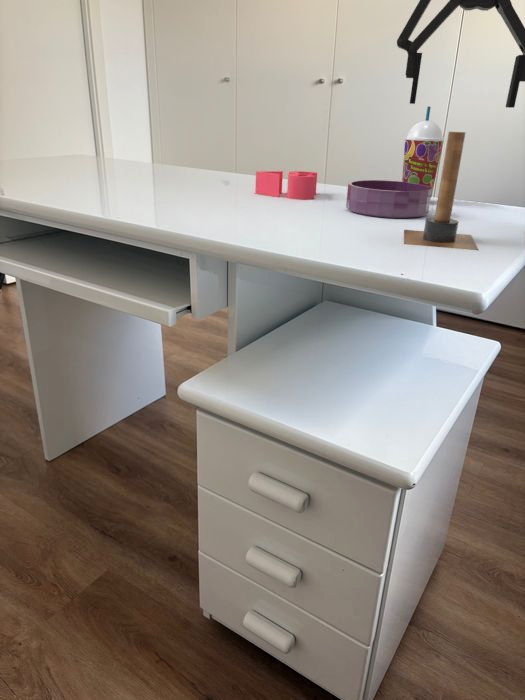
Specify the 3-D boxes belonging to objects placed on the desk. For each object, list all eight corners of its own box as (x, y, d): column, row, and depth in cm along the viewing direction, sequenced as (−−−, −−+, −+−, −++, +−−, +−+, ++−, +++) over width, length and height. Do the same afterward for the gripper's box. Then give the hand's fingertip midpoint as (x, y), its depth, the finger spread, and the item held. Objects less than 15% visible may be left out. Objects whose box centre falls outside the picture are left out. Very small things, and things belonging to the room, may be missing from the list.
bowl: (426, 209, 114) (430, 183, 112) (429, 224, 100) (433, 193, 97) (349, 204, 117) (352, 178, 115) (342, 217, 103) (344, 188, 101)
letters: (251, 196, 123) (252, 173, 121) (259, 190, 132) (259, 169, 130) (313, 200, 121) (314, 176, 119) (316, 193, 130) (317, 172, 128)
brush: (453, 237, 88) (472, 132, 81) (456, 243, 83) (476, 133, 77) (422, 234, 89) (438, 130, 82) (423, 241, 84) (440, 131, 78)
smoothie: (402, 204, 119) (415, 106, 111) (392, 198, 127) (404, 105, 118) (439, 205, 120) (455, 107, 111) (427, 199, 127) (441, 107, 119)
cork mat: (470, 237, 90) (471, 234, 90) (478, 253, 80) (479, 250, 80) (403, 232, 92) (404, 229, 92) (403, 247, 83) (403, 243, 82)
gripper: (392, -82, 68) (372, 101, 77) (607, -88, 63) (559, 109, 72) (393, -65, 75) (374, 102, 84) (588, -69, 70) (546, 109, 79)
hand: (460, 105), depth 78 cm, fingers open, 13 cm apart
